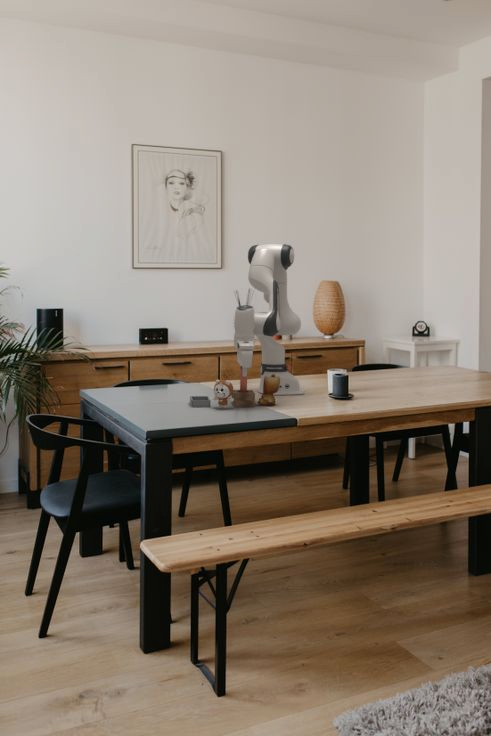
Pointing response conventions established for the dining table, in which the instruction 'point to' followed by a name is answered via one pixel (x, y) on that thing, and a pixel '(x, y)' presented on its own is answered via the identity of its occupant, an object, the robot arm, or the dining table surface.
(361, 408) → the dining table surface
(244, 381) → the pin
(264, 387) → the figurine
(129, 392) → the dining table surface
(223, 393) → the figurine
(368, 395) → the dining table surface
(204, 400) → the tray
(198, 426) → the dining table surface
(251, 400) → the hitch block
